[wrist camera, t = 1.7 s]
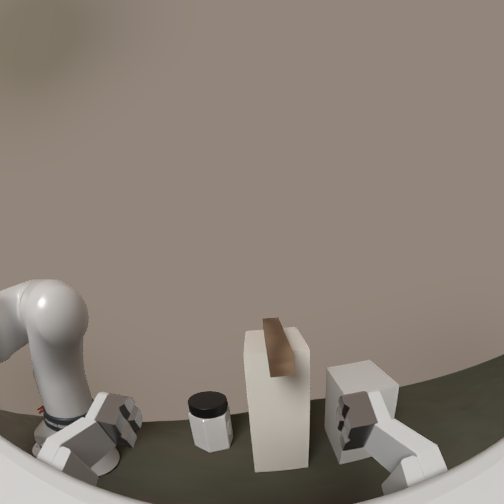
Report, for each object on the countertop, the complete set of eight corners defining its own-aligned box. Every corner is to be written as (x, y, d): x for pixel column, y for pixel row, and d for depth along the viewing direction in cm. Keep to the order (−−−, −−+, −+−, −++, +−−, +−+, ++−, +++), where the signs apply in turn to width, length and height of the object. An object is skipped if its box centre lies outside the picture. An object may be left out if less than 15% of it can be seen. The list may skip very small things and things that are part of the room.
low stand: (339, 464, 37) (346, 397, 38) (324, 428, 51) (326, 367, 52) (386, 451, 37) (399, 385, 38) (364, 419, 51) (369, 359, 52)
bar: (270, 377, 30) (269, 358, 30) (263, 331, 52) (262, 318, 52) (295, 375, 30) (294, 356, 30) (278, 329, 52) (278, 317, 52)
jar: (228, 454, 44) (221, 411, 45) (191, 451, 45) (181, 408, 46) (235, 432, 53) (230, 390, 54) (202, 429, 54) (195, 389, 54)
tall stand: (255, 472, 38) (243, 354, 39) (254, 433, 52) (245, 331, 53) (308, 467, 38) (309, 348, 39) (298, 429, 52) (295, 326, 53)
